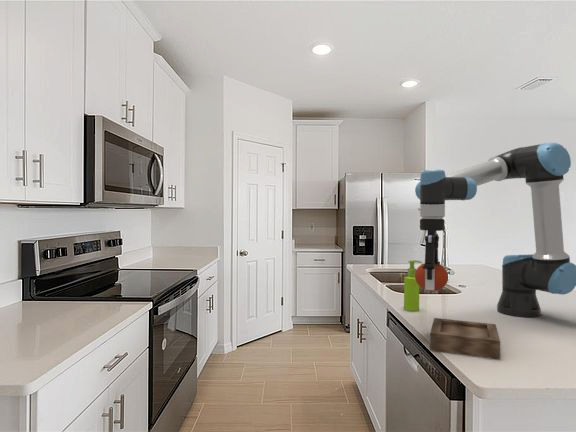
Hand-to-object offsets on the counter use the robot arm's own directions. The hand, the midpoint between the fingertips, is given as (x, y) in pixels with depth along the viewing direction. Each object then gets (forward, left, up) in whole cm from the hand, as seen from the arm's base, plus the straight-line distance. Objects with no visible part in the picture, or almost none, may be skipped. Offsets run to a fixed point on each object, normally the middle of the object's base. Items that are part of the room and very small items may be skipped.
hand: (431, 286), depth 132 cm
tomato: (0, 0, -1) cm, 1 cm away
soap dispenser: (+9, -33, -16) cm, 38 cm away
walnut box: (-10, +6, -16) cm, 19 cm away
